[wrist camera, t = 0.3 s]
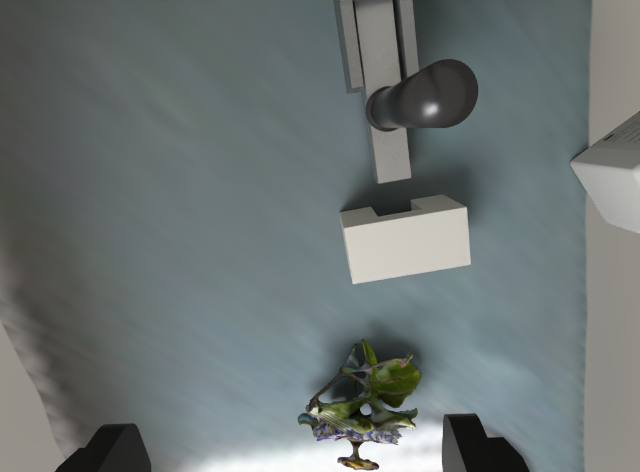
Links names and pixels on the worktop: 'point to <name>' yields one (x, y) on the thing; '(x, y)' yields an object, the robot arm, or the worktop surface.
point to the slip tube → (403, 92)
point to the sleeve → (350, 42)
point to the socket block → (406, 239)
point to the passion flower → (381, 383)
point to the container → (614, 174)
